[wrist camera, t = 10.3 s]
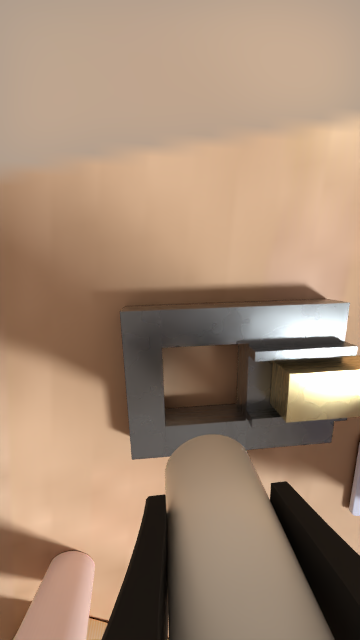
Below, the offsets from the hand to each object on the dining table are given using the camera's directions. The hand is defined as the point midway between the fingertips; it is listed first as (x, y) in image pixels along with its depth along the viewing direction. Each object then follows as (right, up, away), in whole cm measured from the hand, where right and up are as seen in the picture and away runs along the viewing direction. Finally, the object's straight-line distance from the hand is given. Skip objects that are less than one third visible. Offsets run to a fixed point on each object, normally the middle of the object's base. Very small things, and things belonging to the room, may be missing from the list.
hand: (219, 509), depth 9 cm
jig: (+2, +3, +8) cm, 9 cm away
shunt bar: (+8, +3, +7) cm, 11 cm away
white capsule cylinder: (0, 0, +2) cm, 2 cm away
